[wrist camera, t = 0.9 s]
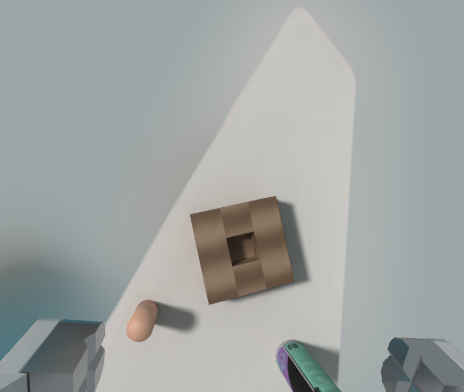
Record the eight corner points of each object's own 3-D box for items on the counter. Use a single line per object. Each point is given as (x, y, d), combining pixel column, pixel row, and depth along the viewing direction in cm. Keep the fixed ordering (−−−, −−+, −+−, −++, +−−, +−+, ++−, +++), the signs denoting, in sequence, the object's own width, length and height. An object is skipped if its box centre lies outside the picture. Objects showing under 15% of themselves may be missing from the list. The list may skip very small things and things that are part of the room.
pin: (160, 318, 45) (154, 337, 38) (138, 324, 45) (129, 345, 38) (155, 297, 45) (149, 312, 38) (134, 303, 45) (124, 319, 38)
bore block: (283, 274, 49) (294, 281, 44) (206, 295, 46) (208, 304, 42) (267, 197, 49) (275, 196, 44) (190, 214, 47) (190, 214, 42)
